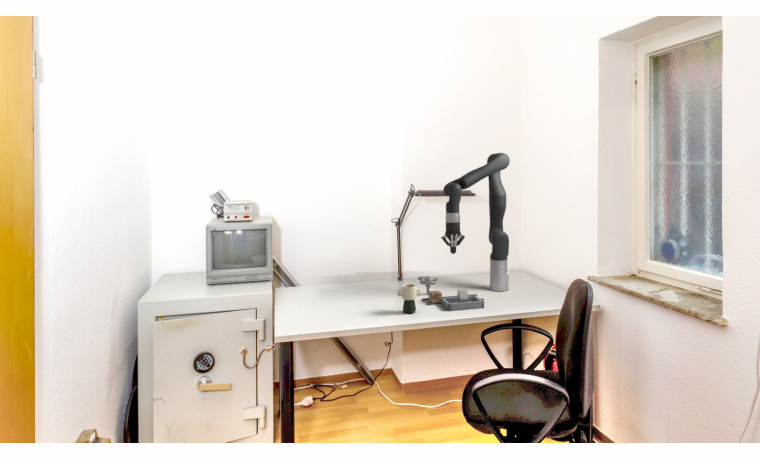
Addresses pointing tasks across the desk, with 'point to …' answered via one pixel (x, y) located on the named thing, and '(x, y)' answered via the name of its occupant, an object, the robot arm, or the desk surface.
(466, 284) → the desk surface
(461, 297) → the stop block
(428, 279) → the mechanical component
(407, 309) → the character mug
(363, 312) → the desk surface
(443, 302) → the tray
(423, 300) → the slide rails
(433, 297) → the slider
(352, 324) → the desk surface
